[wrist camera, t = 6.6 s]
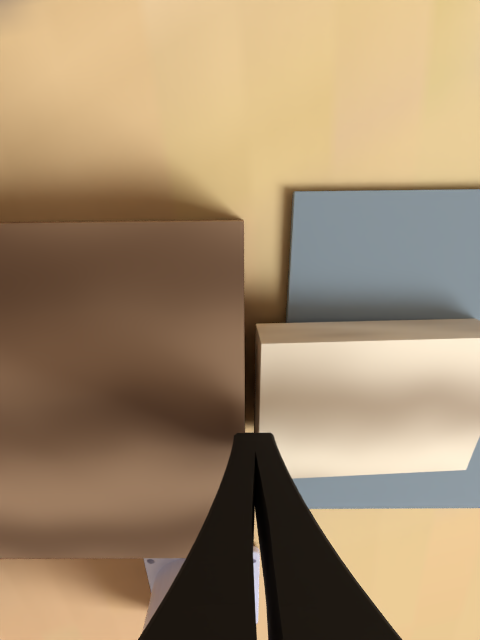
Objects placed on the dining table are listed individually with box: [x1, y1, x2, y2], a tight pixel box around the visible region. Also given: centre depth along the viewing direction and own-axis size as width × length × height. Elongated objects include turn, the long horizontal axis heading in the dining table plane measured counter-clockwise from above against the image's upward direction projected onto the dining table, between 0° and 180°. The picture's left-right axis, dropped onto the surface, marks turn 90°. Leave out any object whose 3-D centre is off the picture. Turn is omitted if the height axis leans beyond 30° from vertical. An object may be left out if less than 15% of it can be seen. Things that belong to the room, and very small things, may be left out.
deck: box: [0, 220, 245, 559], centre depth 12 cm, size 16×18×4 cm
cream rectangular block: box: [254, 318, 480, 479], centre depth 12 cm, size 7×10×2 cm
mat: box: [286, 189, 480, 509], centre depth 14 cm, size 18×16×1 cm
